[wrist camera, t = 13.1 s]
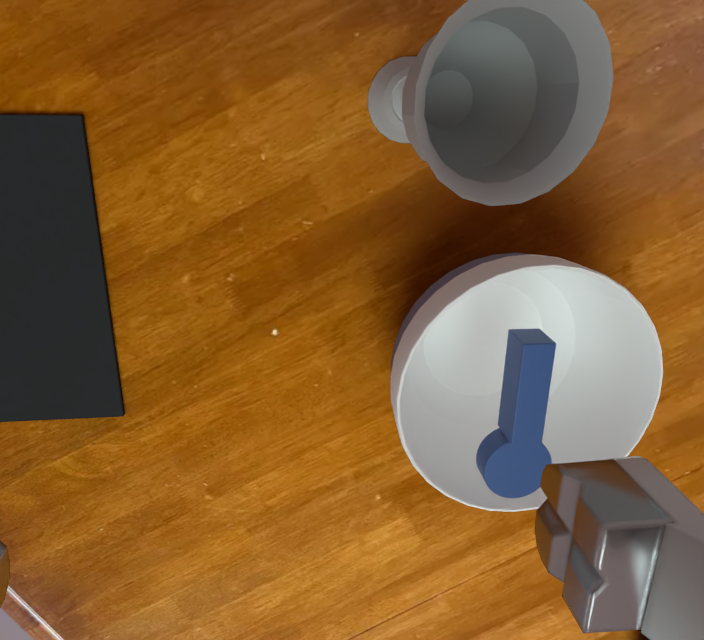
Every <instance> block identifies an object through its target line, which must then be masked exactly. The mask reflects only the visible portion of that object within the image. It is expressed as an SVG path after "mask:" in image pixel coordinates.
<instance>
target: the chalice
mask: <svg viewBox="0 0 704 640" xmlns="http://www.w3.org/2000/svg"><path fill="white" fill-rule="evenodd" d="M613 78H614V77H613V68H612V59H611V50H610V42H609V40H608V38H607V36H606V34H605V31H604V29H603V27H602V25H601V23H600V21H599V18H598V16H597V14H596V12H595V11H594V10H593V9H592V8H591V7H590V6H589V5H588V4H587V3H586V2H585V1H584V0H468V1H467V2H466V3H465V4H464V5H462V6H461V7H460V8H459V9H458V10H457V11H456V12H454V13H453V14H452V15H451V16H450V17H449V18H448V19H447V20H446V22H445V24H444V25H443V27H442V28H441V30H440V31H439V32H438V33H437V34H436V35H434V36H433V37H432V38H431V39H430V40H429V41H428V42H426V43H425V44H424V46H423V47H422V49H421V50H420V52H419V53H418V55H417V56H416V57H415V56H411V57H400V58H397V59H395V60H392V61H390V62H389V63H387V64H386V65H385V66H384V67H382V68H381V69H380V70H379V72H378V73H377V75H376V76H375V78H374V79H373V81H372V83H371V87H370V90H369V94H368V110H369V113H370V116H371V119H372V122H373V123H374V125H375V126H376V128H377V129H378V130H379V132H380V133H382V134H383V135H384V136H386V137H387V138H388V139H390V140H393V141H396V142H399V143H411V145H412V146H413V148H414V150H415V151H416V153H417V154H418V156H419V157H420V158H421V159H423V160H424V161H425V162H427V163H428V164H429V166H430V167H431V169H432V171H433V172H434V174H435V175H436V177H437V179H438V180H439V181H440V182H442V183H443V184H444V185H445V186H447V187H448V188H449V189H451V190H452V191H453V192H455V193H456V194H457V195H458V196H460V197H461V198H463V199H467V200H470V201H474V202H477V203H481V204H484V205H488V206H498V205H511V204H520V203H523V202H525V201H528V200H530V199H532V198H535V197H537V196H539V195H542V194H544V193H547V192H549V191H550V190H551V189H552V188H554V187H555V186H556V185H557V184H559V183H560V182H561V181H562V180H564V179H565V178H566V177H567V176H569V175H570V174H571V173H572V172H574V170H575V169H576V168H577V166H578V165H579V164H580V162H581V161H582V160H583V158H584V157H585V156H586V154H587V153H588V152H589V150H590V149H591V148H592V146H593V145H594V144H595V141H596V139H597V137H598V134H599V132H600V130H601V127H602V125H603V123H604V120H605V118H606V116H607V113H608V109H609V103H610V97H611V90H612V84H613Z"/></svg>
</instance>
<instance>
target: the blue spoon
mask: <svg viewBox="0 0 704 640" xmlns="http://www.w3.org/2000/svg"><path fill="white" fill-rule="evenodd" d="M555 350H556V343H555V342H554V341H553V340H552V339H551V338H550V337H549V336H547V335H546V334H545V333H544V332H543V331H542V330H541V329H539V328H538V329H509V330H508V339H507V348H506V357H505V365H504V374H503V383H502V392H501V400H500V409H499V418H498V426H499V428H498V429H496V430H494V431H492V432H491V433H490V434H488V435H487V436H486V437H485V438H484V439H483V441H482V442H481V444H480V445H479V448H478V450H477V454H476V464H477V467H478V470H479V472H480V473H481V475H482V477H483V479H484V481H485V483H486V485H487V486H488V488H489V489H490V490H491V491H492V492H494V493H495V494H497V495H499V496H501V497H505V498H520V497H524V496H527V495H529V494H531V493H533V492H535V491H536V490H537V489H539V488H540V483H541V476H542V472H543V470H544V468H545V466H546V464H552V460H551V455H550V453H549V451H548V449H547V448H546V447H545V445H544V444H543V443H542V439H543V432H544V425H545V418H546V411H547V405H548V398H549V391H550V384H551V377H552V370H553V363H554V356H555Z"/></svg>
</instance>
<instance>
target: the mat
mask: <svg viewBox="0 0 704 640" xmlns="http://www.w3.org/2000/svg"><path fill="white" fill-rule="evenodd" d="M124 414H125V412H124V405H123V398H122V391H121V384H120V376H119V369H118V362H117V355H116V348H115V340H114V333H113V326H112V319H111V312H110V304H109V297H108V290H107V283H106V276H105V268H104V261H103V254H102V247H101V240H100V232H99V225H98V218H97V211H96V204H95V196H94V189H93V182H92V175H91V168H90V160H89V153H88V146H87V139H86V132H85V124H84V117H83V115H0V422H10V421H32V420H53V419H75V418H97V417H119V416H124Z"/></svg>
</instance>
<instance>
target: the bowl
mask: <svg viewBox="0 0 704 640" xmlns="http://www.w3.org/2000/svg"><path fill="white" fill-rule="evenodd" d="M538 328H539V329H541V330H542V331H543V332H544V333H545V334H546V335H547V336H549V337H550V338H551V339H552V340H553V341H554V342H555V343H556V350H555V356H554V363H553V370H552V377H551V384H550V391H549V398H548V405H547V411H546V418H545V425H544V432H543V439H542V443H543V444H544V445H545V447H546V448H547V449H548V451H549V453H550V455H551V460H552V464H553V463H567V462H581V461H595V460H607V459H611V458H622V457H627V456H628V455H629V453H630V452H631V451H632V450H633V448H634V447H635V446H636V445H637V443H638V442H639V441H640V439H641V437H642V436H643V434H644V432H645V430H646V429H647V427H648V425H649V423H650V421H651V420H652V417H653V414H654V411H655V408H656V406H657V403H658V400H659V397H660V391H661V384H662V377H663V363H662V349H661V346H660V342H659V339H658V335H657V332H656V329H655V326H654V324H653V322H652V321H651V319H650V317H649V316H648V314H647V312H646V310H645V309H644V307H643V305H642V304H641V303H640V302H639V301H638V300H637V299H636V298H635V297H634V296H633V295H632V294H631V293H630V292H629V291H628V290H627V289H626V288H625V287H624V286H622V285H620V284H619V283H617V282H616V281H614V280H613V279H611V278H609V277H608V276H606V275H605V274H602V273H600V272H597V271H595V270H592V269H590V268H587V267H585V266H582V265H580V264H577V263H574V262H571V261H568V260H565V259H562V258H559V257H553V256H544V255H536V254H525V253H505V254H494V255H490V256H487V257H483V258H479V259H476V260H472V261H470V262H468V263H466V264H464V265H462V266H460V267H458V268H456V269H454V270H451V271H450V272H448V273H447V274H446V275H444V276H443V277H442V278H440V279H439V280H438V281H436V282H435V283H433V284H432V285H431V286H430V287H429V288H428V289H427V290H426V291H425V292H424V293H423V294H422V296H421V297H420V298H419V299H418V300H417V301H416V302H415V303H414V305H413V307H412V308H411V310H410V311H409V313H408V314H407V316H406V317H405V319H404V321H403V323H402V325H401V328H400V330H399V333H398V335H397V338H396V340H395V344H394V350H393V355H392V361H391V377H390V388H391V404H392V408H393V412H394V416H395V421H396V425H397V428H398V432H399V436H400V440H401V444H402V446H403V448H404V450H405V452H406V454H407V456H408V458H409V460H410V461H411V463H412V465H413V466H414V467H415V469H416V470H417V471H418V472H419V473H420V474H421V476H422V477H423V478H424V479H425V480H426V481H427V482H428V483H429V484H431V485H432V486H433V487H435V488H436V489H437V490H439V491H440V492H442V493H443V494H444V495H446V496H447V497H450V498H452V499H454V500H456V501H458V502H461V503H463V504H465V505H468V506H472V507H476V508H480V509H485V510H489V511H507V512H515V511H524V510H532V509H538V508H539V507H540V506H541V505H542V504H543V503H544V502H545V500H546V499H547V497H546V495H545V494H544V492H543V491H542V489H541V488H539V489H537V490H536V491H535V492H533V493H531V494H529V495H527V496H524V497H520V498H505V497H501V496H499V495H497V494H495V493H494V492H492V491H491V490H490V489H489V488H488V486H487V485H486V483H485V481H484V479H483V477H482V475H481V473H480V472H479V470H478V467H477V464H476V454H477V450H478V448H479V445H480V444H481V442H482V441H483V439H484V438H485V437H486V436H487V435H488V434H490V433H491V432H492V431H494V430H496V429H498V428H499V426H498V418H499V409H500V400H501V392H502V383H503V374H504V365H505V357H506V348H507V339H508V330H509V329H538Z"/></svg>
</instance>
